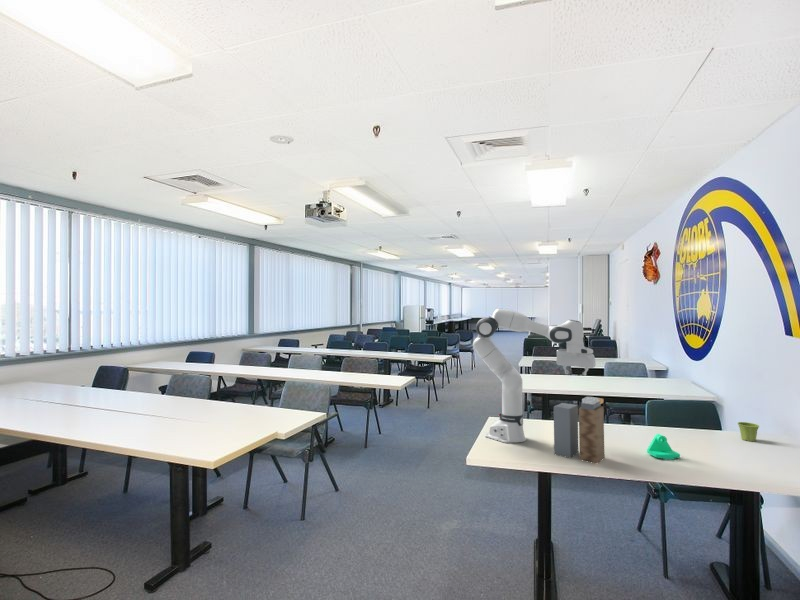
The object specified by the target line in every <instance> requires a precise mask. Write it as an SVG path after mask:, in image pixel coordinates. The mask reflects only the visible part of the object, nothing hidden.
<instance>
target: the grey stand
mask: <svg viewBox="0 0 800 600" xmlns="http://www.w3.org/2000/svg"><path fill="white" fill-rule="evenodd" d="M553 449H554V451H553V453H554V455H555V454H556V456H560V455H561V457H564V456H566V457H565V458H569V457H571V458H573V457H574V456H575V455H577V454H578V453H580V450H579V405H578V404H573V403H566V402H561V403H558V404H555V405H554V406H553ZM576 453H577V454H576ZM573 455H574V456H573Z"/></svg>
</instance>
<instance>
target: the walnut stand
mask: <svg viewBox="0 0 800 600" xmlns="http://www.w3.org/2000/svg"><path fill="white" fill-rule="evenodd" d="M604 413H605V412H604V406H601V405H600V407H599V408H597V409H595V410H588V409H581V406H579V407H578V447H579V461H582V460H583V462H586V461H588V462H587V463H591V462H592V464H595V463H598V464H599V463H600V462H602V461H603V460H604V459H605V422H604V420H605V418H604ZM602 459H603V460H602Z"/></svg>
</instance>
